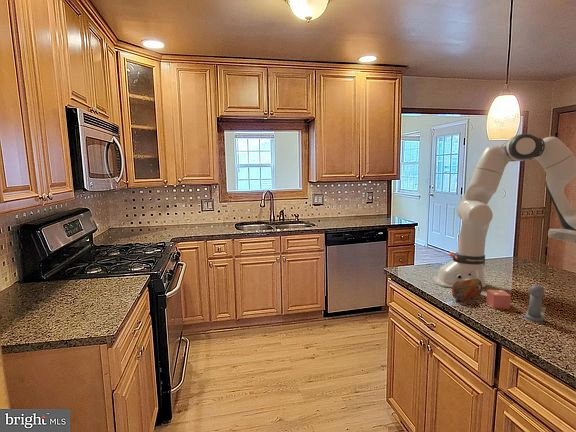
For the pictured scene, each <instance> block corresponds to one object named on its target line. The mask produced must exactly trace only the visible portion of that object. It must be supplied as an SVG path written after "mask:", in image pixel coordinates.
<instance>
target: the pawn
mask: <svg viewBox="0 0 576 432" xmlns="http://www.w3.org/2000/svg"><path fill="white" fill-rule="evenodd" d="M528 292H529V300H528V302H529V303H528V307H529V310H528V309H527V310H528V313H527V312H526V313H525V314H524V315H525V316H524V318H526V319H528V320H527V321H529V320H530V322H533V321H534V322H533V323H537V322H542V321H543V322H544V318H543V316H541V307H543V306H542V305H543V296H544V295H545V289H544V287H543V286H541V285H539V284H533V285H531V286H530V287H529V289H528Z"/></svg>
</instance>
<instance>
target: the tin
mask: <svg viewBox="0 0 576 432" xmlns="http://www.w3.org/2000/svg"><path fill="white" fill-rule="evenodd" d="M451 288H452V289H451V294H452V297H453V298H454V299H455V300H458V301H460V302H465V301H466V302H467V301H470V300H474V298H473V297H476V296H480V295H481V294H482V292H483V291H482V290H483V287H482V283H481V281H480V280H479V279H476V278H467V279H463V280H458V281H456V282H455V283H454V285H453V287H451Z"/></svg>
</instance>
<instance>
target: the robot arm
mask: <svg viewBox="0 0 576 432" xmlns="http://www.w3.org/2000/svg"><path fill="white" fill-rule="evenodd" d="M531 159H533V160H535V161H537V162H538V163H539V164H540V166H541V167H542V169H543V170H544V172H545V176H546V180H545V183H544V184H545V188H546V192H547V194H548V197H549V198H550V200H551V203H552V205H553V207H554V208H555V211H556V213H557V215H558V216H557V217H558V219H559V223H560V226H561V228H549V229H548V233H547V236H548V238H550V239H554V240H560V241H564V242H570V243H575V244H576V208H573V207H572V206H571V204H570V202H569V199H568V198H567V196H566V193H565V187H566V186H567V184H569V182H571V181H572V180H573V179H574V178H575V177H576V156H575V154H573V152H572V151H571V150H570V148H569V147H568V146H567V145H566V144H565V143H564V142H563V141H562V140H561V139H559V138H558V137H556V136H547V137H544V138H540V137H538V136H535V135H533V134H531V133H521V134H518V135H515V136H513V137H511V138H510V139H508V140H506V141H505V142H504V143H503V144H502V145H500V146H499V145H490V146H487V147H486V148H485V149H484V150H483V151H482V153H481V155H480V157H479V158H478V160H477V164H476V165H475V169H474V171H473V174H472V176H471V179H470V182H469V184H468V186H467V189H466V190H465V192H464V194H463V196H462V198H461V199H460V200H461V201H460V203H458V205H457V208H456V213H457V216H458V217H459V218H460V220H462V222H461V226H460V227H461V228H460V232H459V234H458V241H457V252H453V251H450V252H449V256H450V257H451V258H452V260H450V261H449V262H447V263H445V264H444V265H442V266H440V268H439V270H438V273H437V274H438V275H434V276H432V280H433V282H434V283H435V284H436V285H438V286H440V287H443V288H452V287H453V285H454V283H455V282H456V281H458V280H463V279H467V278H476V279H479V280H480V281H481V283H482V288H485V287H486V286H487V283H486V278H485V264H486V255H485V248H486V241H487V240H486V238H487V234H488V230H489V228H490V224H491V222H492V220H493V216H494V214H493V211H492V209H491V206H489V205H488V204H489V202H490V200H491V199H492V197H493V196H494V194H495V193H496V192H497V190H498V188H499V185H500V182H501V180H502V176H503V174H504V171H505V169H506V166H507V165H508V164H509V163H511V162H523V161H527V160H531Z"/></svg>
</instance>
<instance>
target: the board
mask: <svg viewBox="0 0 576 432" xmlns="http://www.w3.org/2000/svg"><path fill="white" fill-rule="evenodd" d="M527 308H528V309H526V313H528V310H529V306H528V307H527ZM546 309H547V308H546V307H543V306H542V307H541V316H543V319H544V318H545V313H546ZM524 320H525V321H530V320H528V319H526V318H525V317H524ZM530 322H531V321H530ZM532 322H533V323H535V322H534V321H532ZM543 322H544V320H543V321H542V322H536V323H538V324H543Z"/></svg>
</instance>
